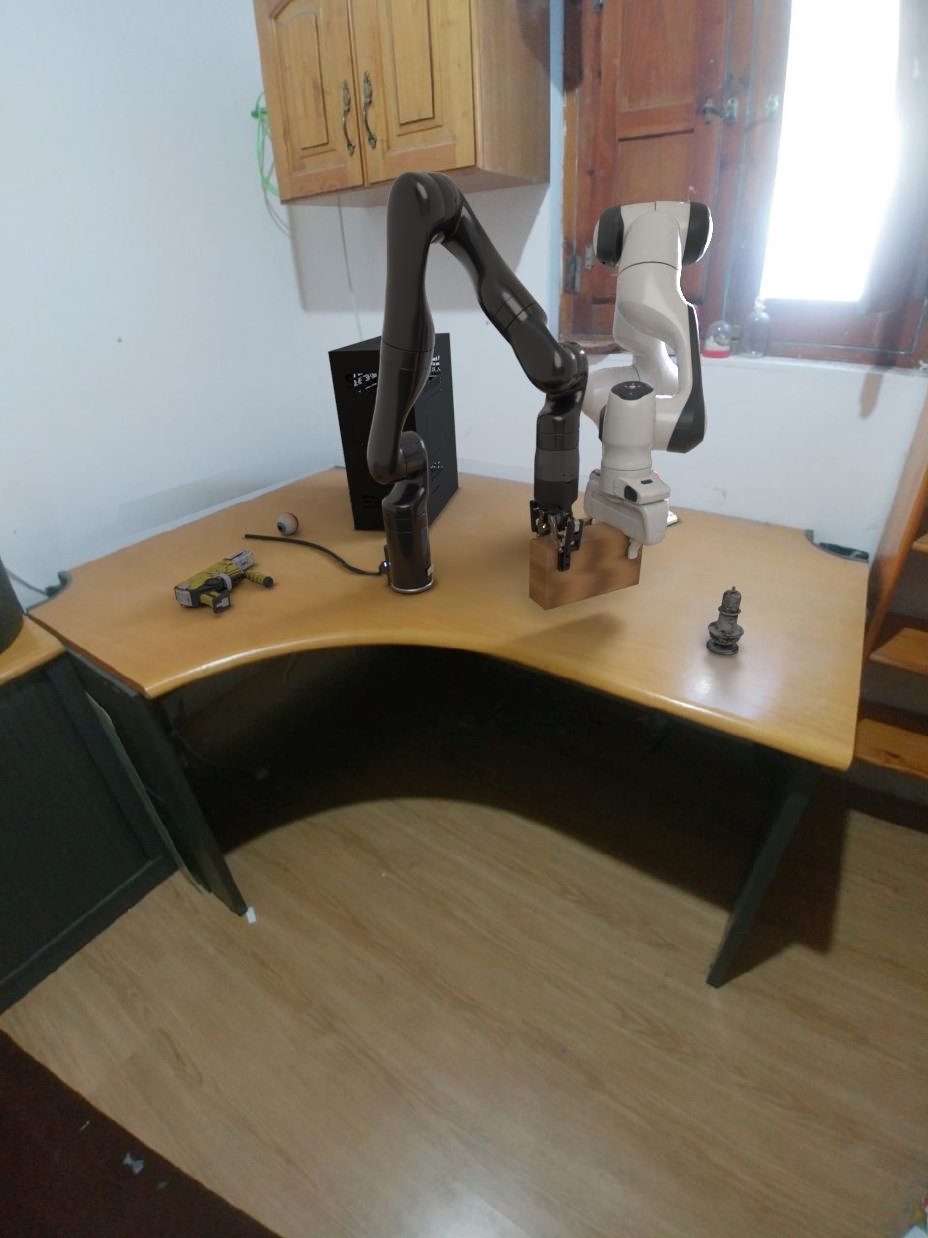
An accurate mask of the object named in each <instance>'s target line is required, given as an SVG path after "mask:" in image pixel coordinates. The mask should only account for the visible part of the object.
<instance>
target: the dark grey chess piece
mask: <svg viewBox="0 0 928 1238" xmlns="http://www.w3.org/2000/svg"><path fill="white" fill-rule="evenodd" d="M741 601H742V593H741V592H740V591H739V590H737V588H736V586H735V585H733V586H731V589H727V590H725V591H724V592H723V594H722V599H721V603H720V604H721V605H720V606H719V607H718V608H717V610H718V618H717V620H715V621H714V620H713V621H711V622H710V623H708V625H707V630H708V634H709V637H710V639H708V640H707V641H706V647H707V648H708V649H709V650H710V651H712V652H714V653H716V654H719V655H733V654H736V653H738V651H739V649H740V646H739V645H738V644H737V643H738V642H739V641H740V639H741V638H742V636H743V635H744V634H745V630H744V628H743V626H741V625H740V624H738V619H739V616H740V614H741V613H742V609H741V608H740V606H741Z"/></svg>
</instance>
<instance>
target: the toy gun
mask: <svg viewBox="0 0 928 1238" xmlns="http://www.w3.org/2000/svg"><path fill="white" fill-rule="evenodd" d="M251 557H252V559H253V561H250V560H249V558H251ZM255 564H256V562H255V554H254V551H253V550H250V549H249V550H248V551H247V549H246V548H242V549H241V550H240V551H237V552H236V553H234V554H232V555H230V556H229V557H225V558H223V559H222V560H220V561H218V562H216V563H214V564H212V565H210V566H208V567H207V568H205V569H203V570H201V571H199V572H197V573H195V574H194V575H192V576H190V577H188V578H187V579H185V580H183V581H181V582H178V583H177V584H175V585H174V586H173V591H174V597H175V601H177V603H178V604H180V607H181V608H182V607H184V608H189V607H199V606H204V605H207V606H210V607H211V608H212V609H213V613H214V614H217V613H220V612H222V611H224V610H226V609H228V608H230V607H231V606H232V604H231V597H230V593H229V592H231V591H232V588H233V586H234V585H237V584H239V583H241V582H243V581H244V580H248V581H250V582H253V583H255V584H259V585H262V586H263V587H265V588H270V587H272V586H273V585H274V579H273V578H272V576H271V575H265V574H263V573H260V572H257V571H254V570H252V569H249V568H250V567H251V566H254V565H255ZM246 569H247V570H246ZM245 570H246V571H245ZM244 571H245V572H244Z"/></svg>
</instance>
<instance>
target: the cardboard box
mask: <svg viewBox="0 0 928 1238" xmlns="http://www.w3.org/2000/svg"><path fill="white" fill-rule="evenodd" d="M381 336H382V334H380V335H378V336H375V337H372V338H368V339H365V340H361V341H358V342H355V343H351V344H348V345H345V346H342V347H339V348H335V349H331V350H330V351H327V355H328V361H329V367H330V374H331V382H332V388H333V395H334V401H335V408H336V414H337V420H338V427H339V433H340V440H341V447H342V455H343V460H344V465H345V466H344V467H345V474H346V480H347V486H348V487H347V488H348V493H349V500H350V507H351V513H352V520H353V527H354V530H358V531H359V530H360V531H361V530H363V531H384V532H385V527H384V519H383V511H382V500H383V498H384V497H385V496H386V495H387V494H388V493H389V492H390V491H391V490H392V489H393V487H394V485H395V483H393V484H387V485H384V484H380V483H378V482H377V481H375V480H374V478H373V477H372V475H371V473H370V471H369V467H368V461H367V449H368V442H369V436H370V431H371V426H372V421H373V416H374V410H375V403H376V395H377V386H378V377H379V363H380V347H381ZM452 367H453V366H452V349H451V333H450V332H435V344H434V351H433V358H432V365H431V370H430V374H429V377H428V379H427V381H426V384H425V386H424V387H423V389H422V391H421V393H420V394H419V396H418V398H417V399H416V401H415V403H414V404H413V406H412V408H411V409H410V411H409V413H408V415H407V417H406V420H405V422H404V426H403V430H402V431H404V430H411V431H414V432H416V433H417V434H418V435H419V436H420V437H421V439H422V440H423V442H424V445H425V448H426V452H427V459H428V485H429V495H428V499H427V502H426V508H427V519H428V529H429V528H431V526H432V524H433V523H434V522H435V520H436V519H437V517H438V516H439V515H440V513H441V512H442V511H443V510H444V508H445V507H446V506H447V504H448V503H449V501H450V500H451V499H452V497H453V496H454V495H455V494H456V492H457V491H458V490H459V488H460V487H459V471H458V455H457V454H458V453H457V438H456V437H457V436H456V421H455V418H456V417H455V404H454V403H455V401H454V384H453V383H454V382H453V369H452Z"/></svg>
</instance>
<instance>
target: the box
mask: <svg viewBox="0 0 928 1238" xmlns="http://www.w3.org/2000/svg"><path fill="white" fill-rule="evenodd" d="M558 533H559V534H560V535H561V534H565V533H566V530H564V531H561V532H558ZM629 540H630V537H628V536H626V535H624V534H623V532H622V531H620V530H618V529H616V528H614V527H612V526H611V525H609V524H607V523H605V522H601V523H597V524H593V525H592V524H589V525H585V526H584V525H583V531H582V537H581V543H580V549H579V551H574V552H571V561H570V568H569V570H566V571H563V572H560V571H559V570H558V569H557V564H558V552H559V551H558V546H557V542H556V540H554V539H553V535H552V533H551V534H550V535H545V536H541V537H533V538H529V550H528V551H529V561H528V563H529V564H528V567H529V568H528V570H529V571H528V573H529V574H528V598H529V599H531V600H532V601H533V603H535V604H536V605H538V607H540V608H541V609H543V610H544V611H548V610H553V609H556V608H559V607H563V606H566V605H570V604H573V603H576V602H580V601H584V600H587V599H591V598H594V597H599V596H601V595H605V594H609V593H613V592H615V591H620V590H623V589H626V588H630V587H633V586H637V585H640V577H641V576H640V575H641V567H642V559H643V549H644V544H642V545H641V546H640V548H639V549H638V554H637V557H636V558H634V559H629V558H628V557H626V556H625V548H629V547H630V545H631V543H632V542H630V541H629ZM562 542H563V545H564V544H565V538H563V539H562ZM573 544H574V541H573Z"/></svg>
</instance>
